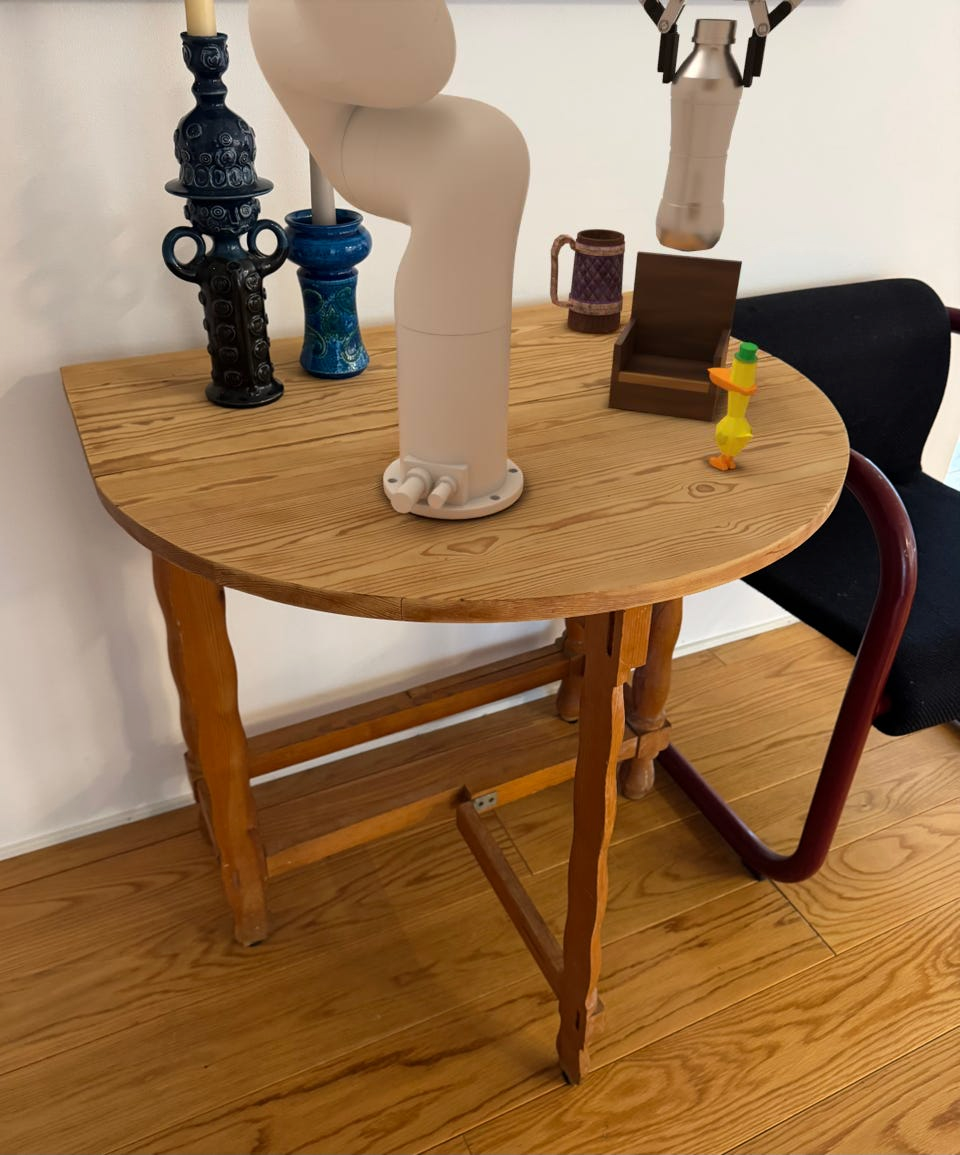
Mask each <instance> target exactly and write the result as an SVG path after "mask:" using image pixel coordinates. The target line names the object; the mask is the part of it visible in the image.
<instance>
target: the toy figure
mask: <svg viewBox="0 0 960 1155" xmlns="http://www.w3.org/2000/svg"><path fill="white" fill-rule="evenodd" d="M758 350H759V346H758V345H757V344H754V343H752V342H742V343H740V344H739V349H738V351H735V352H734V353H733V357H734V358H733V359H732V364H731V368H726V367H725V368H710V369H708V371H709V372H710V375H709V377H710V379H711V381H712V382H713V383H715V384H716V385H718V386H720V387H722V388H721V389H724V390H725V391H727V414H726V415H725V416H724V417H723V418H722V419H721V420H720V421H718V423H716V426H715V427H716V428H715V433H714V437H713V440H714V442H715V444H716V446H717V448H718V450H719V452H720V453H721V455H719V456H718V457H716V456H715V457H713V456H712V457H711V458H709V464H710V465H711V466H712V467H714V468H716V469H719V470H720V471H724V472H725V471H728V470H729V469H730V470H733V469H736V466H737V465H736V464H735V462H734V458H735V457H736V456H738V455H739V454H740V453H741V452H742V450H744V448H746V447H747V445H748V444H749V442H750V441H751V440H752V439H753V438H754V435H753V431H754V428H753V427H752V426H751V425H750V424H749V422H748V420H747V419H746V417H745V414H746V412H747V408H748V406H749V402H750V399H751V396H753V395H754V394H756V393H757V391H758V387H757V384H756V383H755V380H756V375H757V374H756V372H757V367H758V361H759V356H757V355H756V354H757V351H758Z"/></svg>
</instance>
